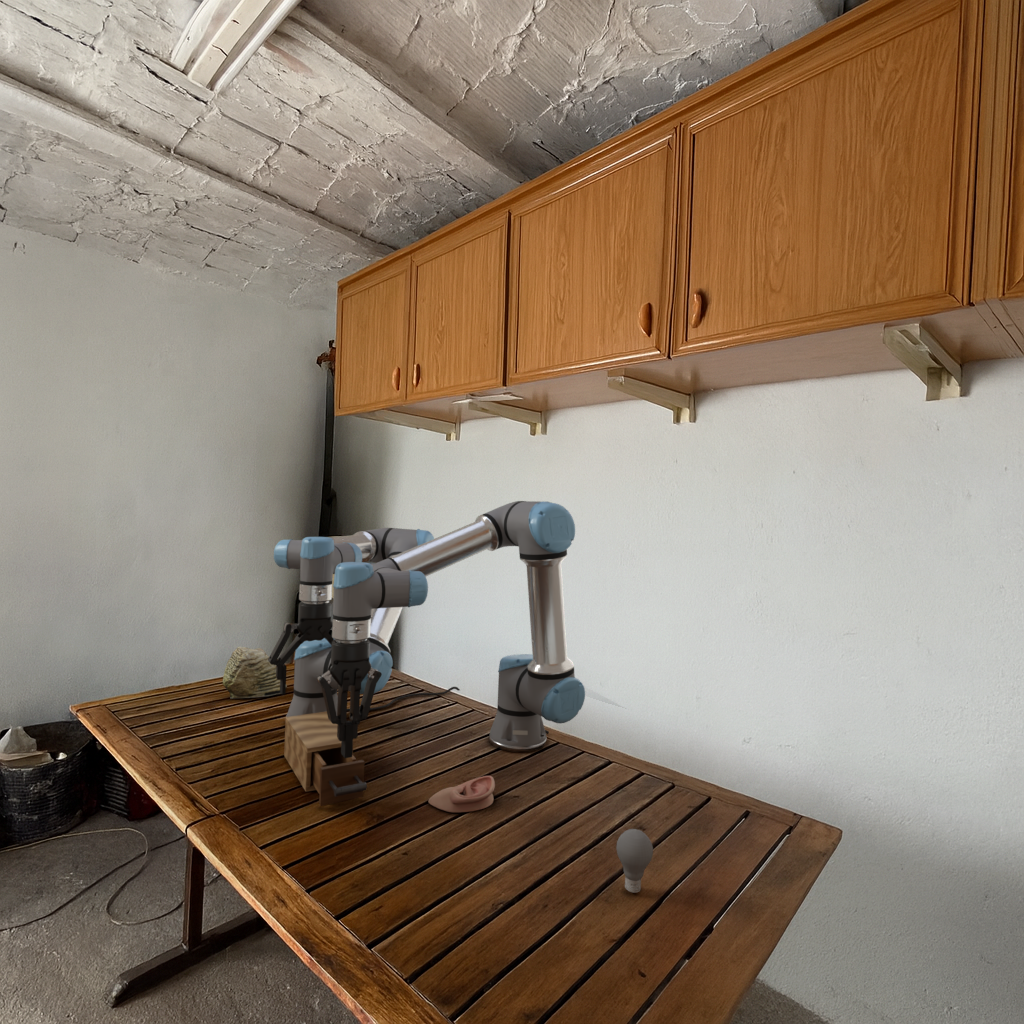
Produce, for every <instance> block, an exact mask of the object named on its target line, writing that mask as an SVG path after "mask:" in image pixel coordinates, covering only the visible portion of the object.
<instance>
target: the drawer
mask: <svg viewBox="0 0 1024 1024" xmlns="http://www.w3.org/2000/svg"><path fill="white" fill-rule="evenodd" d="M311 782H312V784H313V785H314V787H315V788H316V790H315V791H316V792H317V793H318V794H319V795H318V804H319V806H320V807H322V806H327V805H332V804H336V803H341V802H346V801H350V800H355V799H360V798H364V791H367V789H368V786H367V782H366V781H365V761H364V760H363V759H359V760H357V758H356V757H355V756H354V754H353V755H352V757H350V758H344V757H343V755H342V754H341V747H339V748H333V749H327V750H321V751H315V752H312V758H311Z"/></svg>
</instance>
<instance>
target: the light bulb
mask: <svg viewBox="0 0 1024 1024" xmlns="http://www.w3.org/2000/svg"><path fill="white" fill-rule="evenodd" d="M615 849H616V854H617V857H618V859H619V861H620V863H621V865H622V867H623V873H624V874H623V875H624V876H625V878H624V888H625V890H627V891H628V892H630V893H634V894H635V893H639V892H640V891H641V889H642V887H641V886H642V879H643V877H644V875H645V871H646V868H647V867H648V866H649V864H650V863H651V861H652V859H653V855H654V847H653V843H652V841H651V838H649V836H648V835H647V834H646V833H645V832H643V831H642V830H641V829H636V828H629V829H627V830H625V831H623V832H622V833H621V834H620V835H619V837H618V839H617V841H616V847H615Z"/></svg>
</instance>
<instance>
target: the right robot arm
mask: <svg viewBox="0 0 1024 1024" xmlns="http://www.w3.org/2000/svg"><path fill="white" fill-rule="evenodd" d="M575 537H576V523H575V520H574V517H573V516H572V514H571V512H570V511H569V510H568V509H567V508H566V507H565V506H563V505H562V504H560V503H556V502H550V501H541V500H540V501H538V500H537V501H535V500H534V501H533V500H530V501H528V500H517V501H512V502H509V503H506V504H504V505H500V506H499V507H496V508H494V509H491V510H490V511H487V512H485V513H482V514H480V515H478V516H477V517H476V518H475V521H474V522H471V523H469V524H467V525H466V524H465V525H464V526H462V527H459V528H457V529H455V530H453V531H450V532H447V533H445V534H442V535H441V536H439V537H436V538H435V537H434V539H433V540H431V541H428V542H426V543H423V544H421V545H419V546H416V547H414V548H412V549H409V550H407V551H404V552H402V553H400V554H397V555H395V556H392V557H390V558H388V559H385V560H382V561H380V562H378V563H375V562H344V563H340V564H338V565H337V566H336V569H335V574H334V577H333V583H332V588H333V598H332V600H333V601H332V602H333V603H332V605H333V606H332V608H333V609H332V621H333V625H332V628H331V636H332V638H334V640H333V641H332V649H331V663H330V665H329V667H328V671H327V672H326V673H324V674H323V675H318V676H317V681H318V682H319V683H320V685H321V687H322V691H323V696H324V701H325V705H326V710H327V715H328V719H329V720H330V721H331V722H332V723H333V724H337V738H338V740H339V741H341V754H342V755H343V757H344V758H350V757H352V751H353V752H354V740H357V739H358V736H359V735H358V733H359V725H360V724H361V721H363V720H367V719H368V717H369V713H370V711H369V710H370V708H371V706H372V701H373V697H374V695H375V694H374V691H375V687H376V683H377V682H378V680H379V679H380V677H381V675H382V674H381V672H380V671H378V670H377V669H373V668H372V667H371V663H370V661H369V656H370V641H369V640H368V638H369V637H370V627H371V610H372V609H378V608H393V607H403V608H410V607H416V606H422V605H423V604H424V603H425V602H426V600H427V598H428V594H429V583H428V579H427V577H429V576H431V575H432V574H435V573H437V572H439V571H442V570H444V569H447V568H448V567H451V566H453V565H455V564H457V563H460V562H462V561H465V560H467V559H469V558H471V557H473V556H475V555H478V554H480V553H482V552H485V551H486V550H487V551H490V552H494V551H497V550H498V549H501V548H506V547H507V548H508V547H517V548H518V554H519V560H520V561H521V562H522V563H524V564H525V567H526V579H527V592H528V593H527V595H528V607H529V608H528V610H529V622H530V623H529V624H530V638H531V639H530V640H531V653H528V654H527V653H520V654H519V653H518V654H517V653H516V654H510V655H505V656H503V657H502V658H500V660H499V665H498V671H497V673H498V684H497V686H498V687H497V709H496V713H495V717H494V719H493V722H492V724H491V728H490V729H489V735H488V741H489V743H490V744H491V745H492V746H493V747H494V748H496V749H499V750H502V751H506V752H513V753H529V752H535V751H539V750H541V749H543V748H544V747H546V745H547V735H549V734H550V731H549V730H547V729H545V725H544V721H543V719H544V720H546V721H549V722H552V723H555V724H565V723H568V722H570V721H572V720H573V719H574V718H575V717H576V716H578V714H579V713H580V711H581V710H582V708H583V706H584V704H585V699H586V690H585V685H584V684H583V682H582V681H581V680H580V679H579V678H577V677H576V675H575V674H576V673H575V664H574V662H573V661H572V660H571V659H570V658H569V657H568V646H567V631H566V630H567V629H566V616H565V615H566V614H565V598H564V584H563V583H564V582H563V581H564V580H563V568H562V563H563V561H564V560H565V559H567V557H568V549H569V548H570V547H571V545H572V544H573V543H572V542H573V541H574V540H575ZM367 674H368V679H367V682H366V686H365V690H364V693H363V694H362V697H361V694H360V690H361V682H362V681H363V680H364V678H365V677H366V675H367ZM331 676H332V677H333V678H334V680H335V681H336V682H337V683H338V690H337V695H338V706H337V715H336V710H335V705H334V701H333V696H332V691H331V687H330V685H329V684H330V683H331ZM349 686H350V687H351V692H350V695H349V709H350V711H349V720H347V717H348V711H347V709H348V694H349V691H348V690H349Z"/></svg>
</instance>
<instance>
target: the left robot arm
mask: <svg viewBox="0 0 1024 1024" xmlns="http://www.w3.org/2000/svg"><path fill="white" fill-rule="evenodd" d="M433 539H435V537H434V535H433V533H432V532H431V531H429V530H426V529H420V528H417V529H412V528H400V527H399V528H397V527H380V528H374V529H367V530H360V531H357V532H355V533H354V534H352V535H341V536H329V537H328V536H306V537H304V538H302V539H281V540H279V541H278V542H277V543H276V545H275V546H274V549H273V560H274V563H275V565H277V566H278V567H279V568H282V569H288V570H299V571H300V576H299V577H300V578H299V590H298V591H299V593H298V600H299V601H300V602H299V603H298V617H297V622H296V623H289V622H288V621H286V622H284V623H283V630H282V632H281V634H280V636H279V638H278V640H277V641H276V644H275V646H274V648H273V649H272V651H271V653H270V655H269V658H268V661H269V663H270V664H271V665H276V678H277V679H278V680H280V692H281V693H280V695H282V696H283V695H287V693H286V692H287V687H286V685H287V671H288V670H287V669H288V667H287V665H286V663H287V661H288V660H290V658H291V657H292V656H293V654H294V653H295V654H294V658H293V660H294V672H293V695H292V696H293V697H292V699H291V702H290V704H289V708H288V711H287V713H286V715H285V718H286V717H290V716H297V715H305V714H312V713H319V712H327V710H326V705H325V701H324V696H323V691H322V687H321V685H320V683H319V682H318V681H317V676H318V675H323V674H324V673H326V672H327V671H328V667H329V665H330V663H331V649H332V641H333V640H334V638H333V637H332V634H330V633H329V632H330V631H332V625H333V620H332V608H333V606H332V605H333V603H332V602H331V600H333V579H334V577H333V575H335V569H336V566H337V565H338V564H340V563H344V562H364V563H378V562H380V561H382V560H385V559H388V558H390V557H392V556H395V555H397V554H400V553H402V552H404V551H407V550H409V549H412V548H414V547H416V546H419V545H421V544H423V543H426V542H428V541H431V540H433ZM403 608H404V607H393V608H378V609H372V610H371V627H370V637H369V638H368V640H369V641H370V656H369V661H370V663H371V667H372V668H373V669H377V670H378V671H380V672H381V674H382V675H381V677H380V679H379V680H378V682H377V683H376V687H375V691H374V695H375V694H376V693H379V692H380V691H382V690H383V689H384V687H385V686H386V685H387V684H388V682H389V680H390V677H391V675H392V671H393V668H392V667H393V665H394V663H393V662H394V661H393V657H392V655H391V648H390V647H389V642H390V640H391V638H392V635H393V633H394V631H395V628H396V625H397V623H398V621H399V618H400V616H401V613H402V610H403ZM295 630H297V632H298V633H297V635H296V636H295V637H294V639H293V641H292V642H290V644H289V645H288V646H287V648H285V646H286V645H287V642H288V641H289V638H290V636H291V634H292V633H294V631H295ZM284 648H285V650H284ZM283 650H284V651H283ZM282 651H283V652H282ZM367 679H368V674H367V675H366V677H365V678H364V680H363V681H362V682H361V690H360V695H363V693H364V690H365V686H366V682H367ZM329 685H330V687H331V691H332V696H333V701H334V705H335V710H336V715H337V706H338V683H337V682H336V681H335V680H334V678H333V677H332V676H331V683H330V684H329ZM453 690H457V691H458V692H459V691H461V690H460V688H459V687H457V686H451V687H449V688H448V689H446V690H445V691H440V692H418V693H417V692H416V693H411V694H410V693H409V694H405V695H401V696H398V697H395V698H393V699H392V700H391V701H390V702H388V703H386V704H384V705H380V706H375V707H370V710H369V712H371V711H376V710H377V711H378V710H380V709H382V710H383V709H385V708H388V707H389V706H391V705H392V704H394V703H395V702H397V701H399V700H403V699H406V698H412V697H417V696H441V695H445V694H447V693H449V692H451V691H453ZM349 692H351V687H350V686H349V690H348V693H349ZM347 712H350V708H347Z"/></svg>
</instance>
